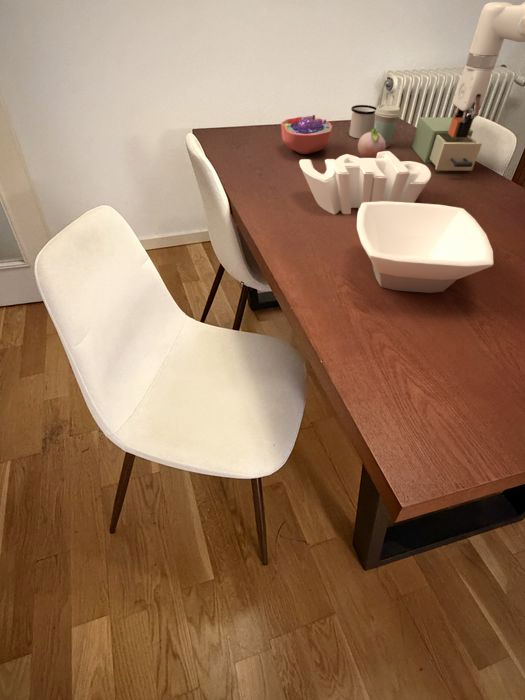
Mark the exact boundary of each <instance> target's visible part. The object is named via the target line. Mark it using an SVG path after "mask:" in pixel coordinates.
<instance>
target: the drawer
mask: <svg viewBox="0 0 525 700" xmlns="http://www.w3.org/2000/svg"><path fill="white" fill-rule="evenodd" d="M482 145H483V144H482V143H481V142H477V141H476V140H474V138H472V136H471V137H470V136H468V137H467V138H453V137H451V136H450V135H449V134H435V136H434V140H433V143H432V147H431V150H430V153H429V157H428V158H429V159H430V160H431V161H432V162H433V163H432V164H433V165H434V166H435V167H434V170H435V171H471V172H472V171H473V169H474V166H475V164H476V161H477V158H478V155H479V153H480V150H481V147H482Z"/></svg>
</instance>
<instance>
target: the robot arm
mask: <svg viewBox="0 0 525 700" xmlns="http://www.w3.org/2000/svg"><path fill="white" fill-rule="evenodd" d="M505 40H510V41H513V42H516V43H525V1H523V2H522V3H521V4H517V5H516V4H515V5H513V4H512V3H510V2H506V1H505V2H504V1H491V2H488V3H486V4H484V6H483V7H482V9H481V12H480V15H479V19H478V22H477V25H476V29H475V31H474V35H473V39H472V42H471V46H470V49H469V51H468V55H467V59H466V62H465V65H464V68H463V71H462V72H461V75H460V78H459V81H458V84H457V87H456V90H455V92H454V96H453V99H452V104H453V106H455V111H454V113H453V117H463V119H462V122H460V124H459V128H458V131H457V134H456V137H467V135H468V132H469V129H471V128H470V126H471V127H472V125H471V123H472V124H473V122H474V119H475V118H476V117H478V116H479V114H480V110H481V108H482V106H483V103H484V101H485V99H486V94H487V91H488V87H489V84H490V82H491V81H490V80H491V77H492V73H493V71H494V70H495V67H496V64H497V61H498V58H499V55H500V52H501V50H502V47H503V44H504V41H505Z"/></svg>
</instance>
